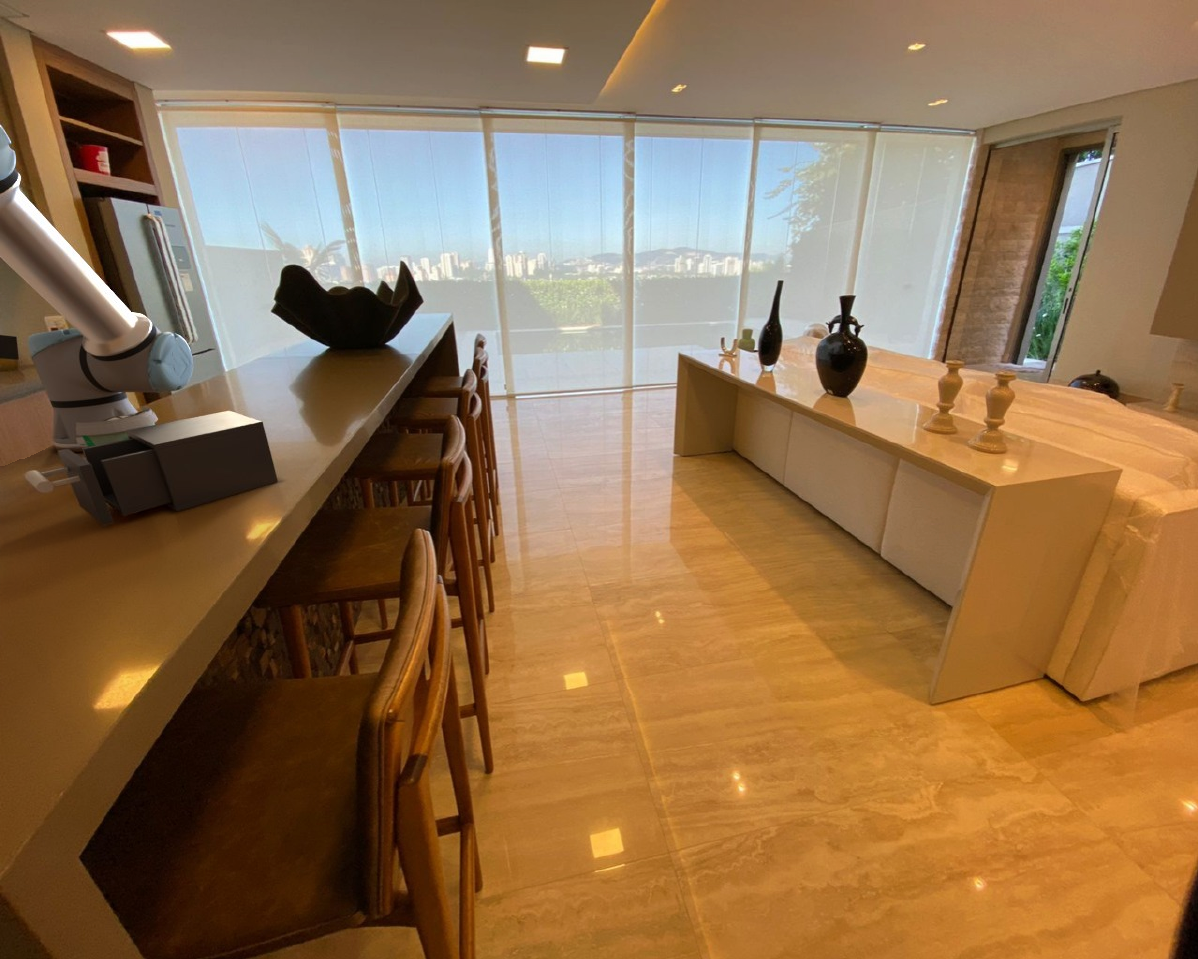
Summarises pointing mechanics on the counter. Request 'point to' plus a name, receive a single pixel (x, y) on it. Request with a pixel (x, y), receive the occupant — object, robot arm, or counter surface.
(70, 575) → the counter surface
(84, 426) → the food container
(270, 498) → the counter surface
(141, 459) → the drawer
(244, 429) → the cabinet
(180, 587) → the counter surface
